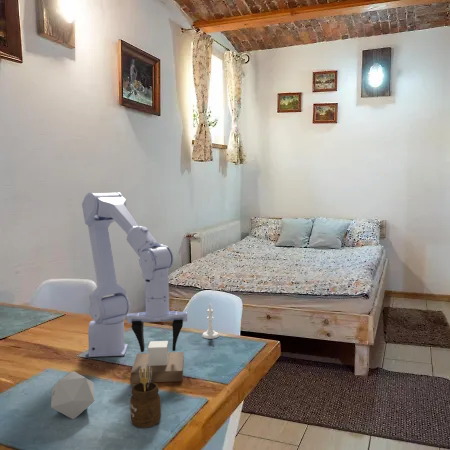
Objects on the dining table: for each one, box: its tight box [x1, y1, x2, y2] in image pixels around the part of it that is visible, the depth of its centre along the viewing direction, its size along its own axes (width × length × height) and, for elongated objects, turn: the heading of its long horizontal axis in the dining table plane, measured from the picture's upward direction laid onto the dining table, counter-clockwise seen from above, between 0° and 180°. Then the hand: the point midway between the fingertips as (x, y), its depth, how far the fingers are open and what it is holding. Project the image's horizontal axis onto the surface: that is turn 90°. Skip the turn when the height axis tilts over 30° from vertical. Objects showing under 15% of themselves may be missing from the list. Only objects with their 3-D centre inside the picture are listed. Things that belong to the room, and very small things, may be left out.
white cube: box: [147, 340, 170, 366], centre depth 113 cm, size 4×4×4 cm
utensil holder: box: [129, 363, 162, 429], centre depth 90 cm, size 6×6×12 cm
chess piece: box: [201, 303, 220, 340], centre depth 139 cm, size 5×5×10 cm
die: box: [50, 370, 96, 421], centre depth 94 cm, size 8×9×10 cm
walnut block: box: [130, 351, 185, 384], centre depth 114 cm, size 12×12×3 cm
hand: (158, 350), depth 113 cm, fingers open, 7 cm apart
